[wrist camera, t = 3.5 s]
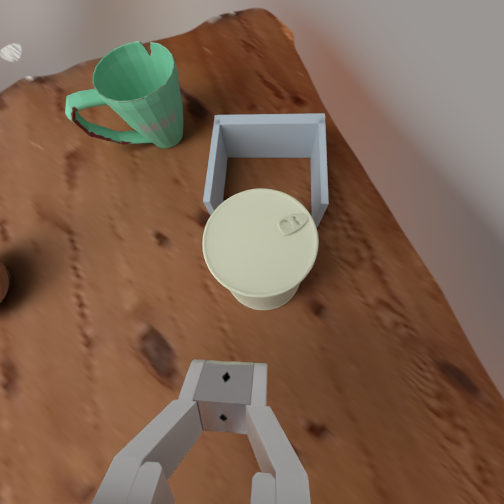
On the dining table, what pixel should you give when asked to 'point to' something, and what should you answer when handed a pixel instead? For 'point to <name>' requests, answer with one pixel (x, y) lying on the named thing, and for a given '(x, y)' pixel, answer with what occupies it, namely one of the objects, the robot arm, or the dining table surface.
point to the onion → (4, 281)
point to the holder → (268, 150)
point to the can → (260, 246)
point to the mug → (134, 96)
